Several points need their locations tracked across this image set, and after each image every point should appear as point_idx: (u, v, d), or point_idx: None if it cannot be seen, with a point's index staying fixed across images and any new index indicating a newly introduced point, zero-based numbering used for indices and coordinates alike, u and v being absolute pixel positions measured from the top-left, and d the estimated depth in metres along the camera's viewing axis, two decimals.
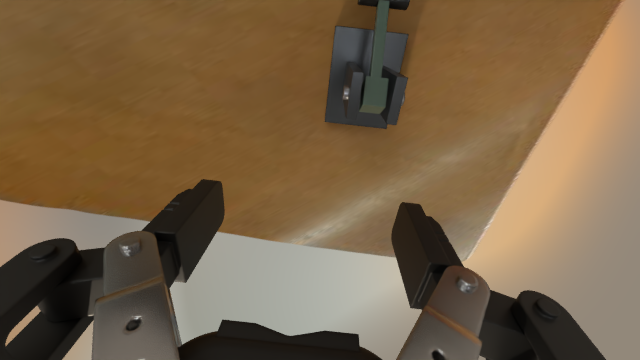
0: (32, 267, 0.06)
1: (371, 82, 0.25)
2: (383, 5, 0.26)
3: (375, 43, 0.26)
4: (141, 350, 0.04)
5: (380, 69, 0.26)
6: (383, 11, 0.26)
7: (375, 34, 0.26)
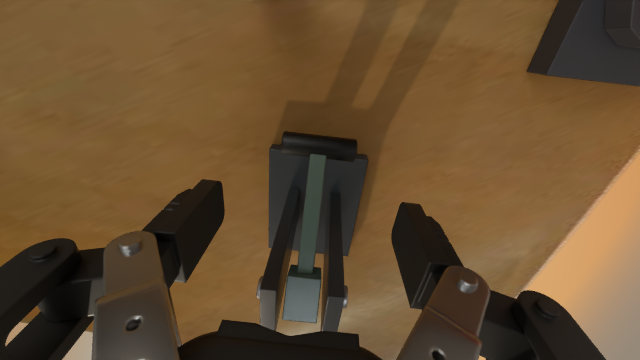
0: (31, 266, 0.06)
1: (295, 286, 0.16)
2: (316, 162, 0.17)
3: (304, 219, 0.17)
4: (141, 350, 0.04)
5: (312, 257, 0.17)
6: (317, 171, 0.17)
7: (305, 204, 0.17)
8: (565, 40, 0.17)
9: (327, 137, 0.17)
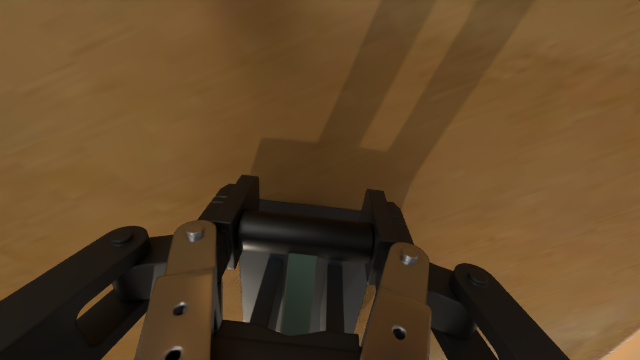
0: (110, 249, 0.07)
1: None
2: (300, 269, 0.10)
3: None
4: (180, 337, 0.05)
5: None
6: (301, 284, 0.10)
7: None
8: None
9: (320, 223, 0.10)
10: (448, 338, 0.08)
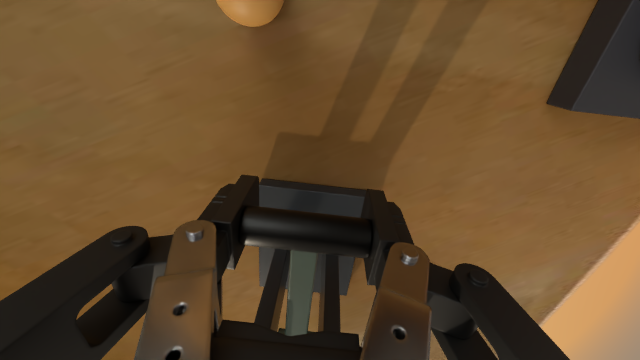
0: (109, 250, 0.07)
1: None
2: (301, 261, 0.10)
3: (288, 319, 0.12)
4: (180, 337, 0.05)
5: None
6: (303, 271, 0.11)
7: (288, 303, 0.12)
8: (594, 73, 0.15)
9: (319, 227, 0.10)
10: (448, 338, 0.08)
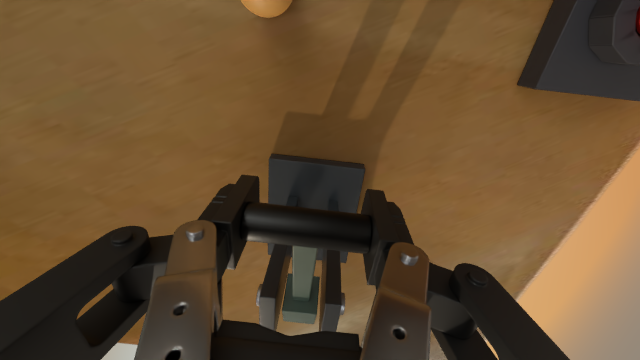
0: (110, 249, 0.07)
1: (291, 314, 0.17)
2: (303, 250, 0.11)
3: (294, 281, 0.14)
4: (180, 338, 0.05)
5: (307, 295, 0.16)
6: (305, 256, 0.11)
7: None
8: (552, 56, 0.18)
9: (319, 230, 0.10)
10: (448, 338, 0.08)
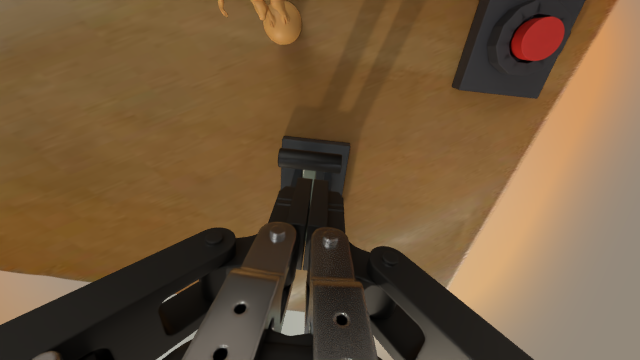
0: (201, 248, 0.07)
1: None
2: (308, 174, 0.21)
3: None
4: (231, 337, 0.05)
5: None
6: None
7: None
8: (467, 69, 0.28)
9: (316, 159, 0.20)
10: (376, 322, 0.08)
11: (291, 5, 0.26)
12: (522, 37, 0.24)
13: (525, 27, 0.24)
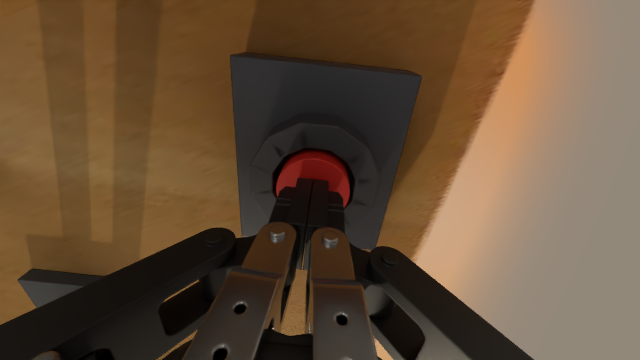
0: (201, 248, 0.07)
1: None
2: None
3: None
4: (231, 337, 0.05)
5: None
6: None
7: None
8: (242, 209, 0.16)
9: None
10: (376, 322, 0.08)
11: None
12: None
13: (283, 167, 0.13)
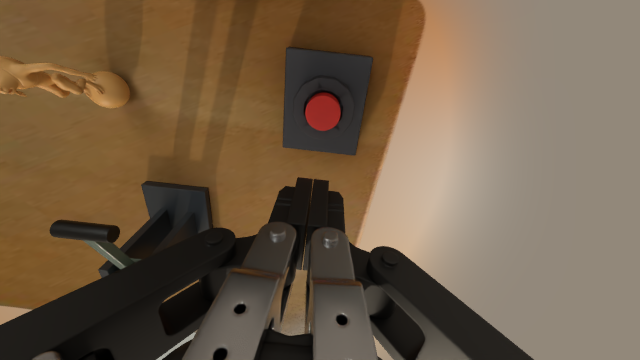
0: (201, 248, 0.07)
1: None
2: (89, 242, 0.24)
3: None
4: (231, 338, 0.05)
5: None
6: (93, 245, 0.24)
7: None
8: (284, 130, 0.31)
9: (83, 232, 0.23)
10: (376, 322, 0.08)
11: (108, 77, 0.28)
12: (305, 111, 0.27)
13: (308, 102, 0.27)
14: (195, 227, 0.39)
